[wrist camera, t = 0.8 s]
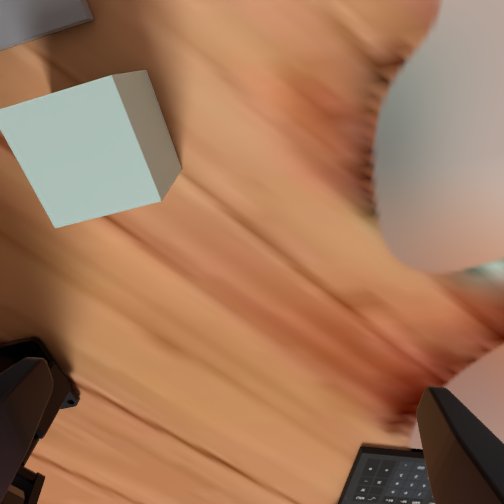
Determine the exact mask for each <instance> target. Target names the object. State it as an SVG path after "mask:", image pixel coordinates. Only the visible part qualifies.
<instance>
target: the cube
mask: <svg viewBox="0 0 504 504" xmlns="http://www.w3.org/2000/svg"><path fill="white" fill-rule="evenodd" d="M0 130H1V132H2V133H3V135H4V137H5V139H6V141H7V142H8V144H9V146H10V148H11V150H12V151H13V153H14V155H15V157H16V159H17V161H18V162H19V164H20V166H21V168H22V170H23V171H24V173H25V175H26V177H27V179H28V180H29V182H30V184H31V186H32V188H33V189H34V191H35V193H36V195H37V197H38V198H39V200H40V202H41V204H42V206H43V207H44V209H45V211H46V213H47V215H48V216H49V218H50V220H51V222H52V224H53V225H54V227H55V228H59V227H63V226H67V225H70V224H74V223H78V222H82V221H86V220H90V219H94V218H98V217H102V216H106V215H109V214H113V213H117V212H121V211H125V210H129V209H133V208H137V207H141V206H145V205H149V204H152V203H156V202H160V201H162V200H163V198H164V197H165V195H166V193H167V192H168V190H169V189H170V187H171V186H172V184H173V183H174V181H175V180H176V178H177V176H178V175H179V173H180V172H181V170H182V168H181V165H180V162H179V159H178V156H177V154H176V151H175V148H174V145H173V142H172V140H171V137H170V134H169V131H168V128H167V126H166V123H165V120H164V117H163V114H162V112H161V109H160V106H159V103H158V100H157V98H156V95H155V92H154V89H153V86H152V84H151V81H150V78H149V75H148V72H147V70H140V71H133V72H127V73H121V74H114V75H109V76H106V77H103V78H100V79H97V80H93V81H90V82H87V83H84V84H80V85H77V86H74V87H71V88H67V89H64V90H61V91H58V92H54V93H51V94H48V95H45V96H41V97H38V98H35V99H32V100H28V101H25V102H22V103H19V104H15V105H12V106H9V107H6V108H3V109H0Z"/></svg>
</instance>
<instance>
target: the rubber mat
mask: <svg viewBox="0 0 504 504" xmlns="http://www.w3.org/2000/svg"><path fill="white" fill-rule="evenodd" d="M92 20H94V18H93V15H92V13H91V10H90V7H89V5H88V2H87V0H0V51H1V50H4V49H7V48H10V47H13V46H16V45H19V44H22V43H25V42H28V41H31V40H34V39H37V38H41V37H44V36H47V35H50V34H53V33H56V32H59V31H62V30H65V29H68V28H71V27H74V26H77V25H80V24H83V23H86V22H89V21H92Z"/></svg>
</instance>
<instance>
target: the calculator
mask: <svg viewBox="0 0 504 504" xmlns="http://www.w3.org/2000/svg"><path fill="white" fill-rule="evenodd" d="M338 504H435V501H434V498H433V494H432V491H431V487H430V483H429V478H428V473H427V468H426V463H425V458H424V453H423V449H415V448H410V451H402V450H391V449H381V448H370V447H360V450H359V452H358V455H357V457H356V459H355V462H354V464H353V467H352V469H351V472H350V474H349V477H348V479H347V482H346V484H345V487H344V489H343V492H342V494H341V497H340V499H339V502H338Z"/></svg>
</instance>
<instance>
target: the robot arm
mask: <svg viewBox="0 0 504 504" xmlns="http://www.w3.org/2000/svg"><path fill="white" fill-rule="evenodd" d="M33 344H34V345H33ZM79 400H80V398H79V396H78V394H77V393H76V391H75V390H74V388H73V387H72V385H71V384H70V382H69V381H68V379H67V378H66V376H65V375H64V373H63V372H62V371H61V369H60V368H59V366H58V365H57V363H56V362H55V360H54V359H53V357H52V356H51V354H50V353H49V351H48V350H47V348H46V347H45V345H44V344H43V342H42V341H41V340H40V339H38V338H36V337H30V338H25V339H21V340H16V341H11V342H7V343H2V344H0V504H37V502H38V498H39V495H40V492H41V489H42V486H43V483H44V480H45V476H44V475H42V474H40V473H35V472H33V471H31V470H29V469H27V468H26V467H24V466H25V464H26V462H27V460H28V458H29V457H30V455H31V453H32V451H33V450H34V448H35V446H36V444H37V443H38V441H39V439H42V438H43V437H44V436H45V434H46V433H47V431H48V429H49V427H50V425H51V424H52V422H53V420H54V418H55V416H56V415H57V413H58V411H59V409H64V408H69V407H74V406H76V405H77V404H78V402H79ZM417 422H418V427H419V432H420V437H421V442H422V447H423V453H424V458H425V463H426V468H427V473H428V478H429V483H430V487H431V491H432V494H433V498H434V501H435V504H504V444H503V443H502V442H501V441H500V440H499V439H498V438H497V437H496V436H495V435H494V434H493V433H492V432H491V431H490V430H489V429H488V428H487V427H486V426H485V425H484V424H483V423H482V422H481V421H480V420H479V419H478V418H477V417H476V416H475V415H474V414H473V413H471V412H470V410H469V409H467V407H465V406H464V405H463V404H462V403H461V402H460V401H459V400H458V399H457V398H456V397H455V396H454V395H453V394H452V393H451V392H450V391H449V390H448V389H446V388H444V387H436V386H428V387H426V388H425V390H424V392H423V395H422V397H421V400H420V402H419V405H418V408H417Z"/></svg>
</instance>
